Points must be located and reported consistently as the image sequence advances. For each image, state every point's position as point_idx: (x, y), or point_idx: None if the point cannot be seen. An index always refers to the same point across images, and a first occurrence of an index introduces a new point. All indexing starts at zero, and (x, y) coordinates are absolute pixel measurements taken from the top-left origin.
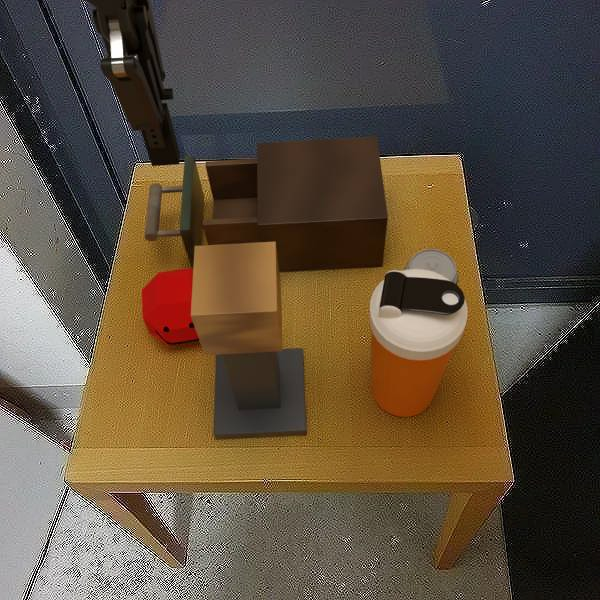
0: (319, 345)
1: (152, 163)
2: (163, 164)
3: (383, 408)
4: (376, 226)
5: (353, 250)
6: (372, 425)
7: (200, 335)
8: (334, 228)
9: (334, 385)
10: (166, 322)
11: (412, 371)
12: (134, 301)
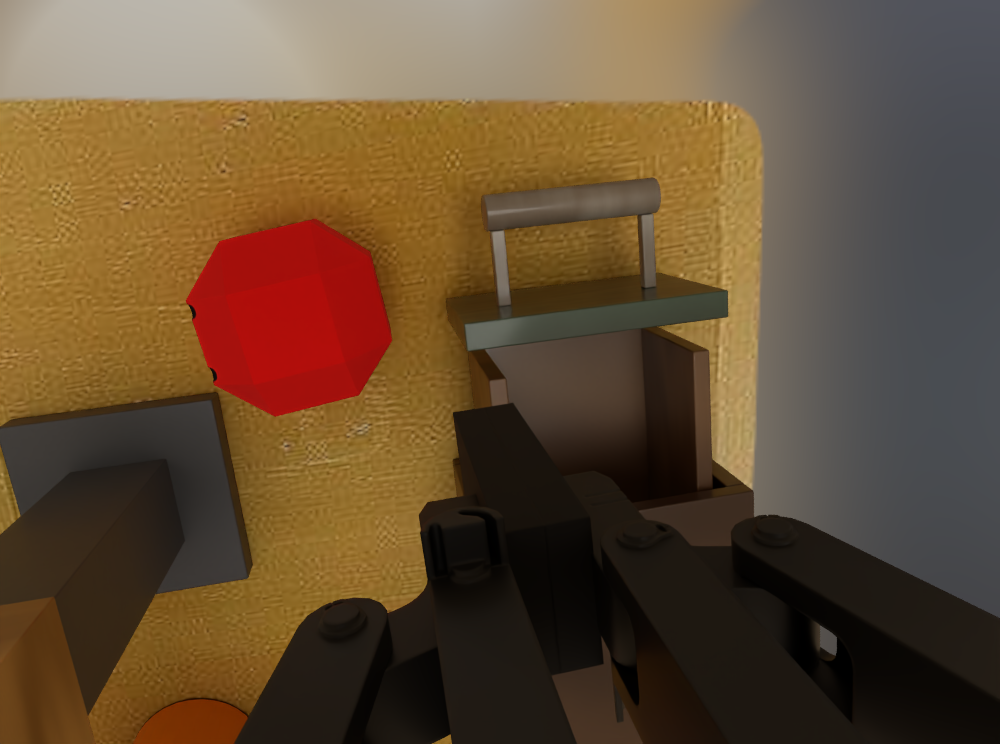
0: (277, 592)
1: (455, 422)
2: (459, 459)
3: (140, 731)
4: None
5: None
6: (107, 709)
7: None
8: None
9: (186, 632)
10: (203, 314)
11: None
12: (352, 164)
